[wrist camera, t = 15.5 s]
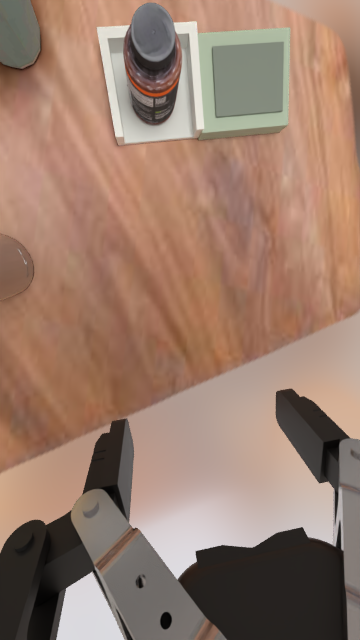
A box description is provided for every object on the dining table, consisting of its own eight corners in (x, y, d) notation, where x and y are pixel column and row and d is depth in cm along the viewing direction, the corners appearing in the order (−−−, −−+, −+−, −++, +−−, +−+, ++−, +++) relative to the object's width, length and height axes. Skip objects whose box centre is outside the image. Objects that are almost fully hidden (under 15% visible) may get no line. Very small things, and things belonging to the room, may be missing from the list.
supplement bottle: (151, 58, 31) (152, -37, 20) (184, 101, 33) (201, 35, 22) (119, 97, 32) (105, 26, 21) (153, 137, 34) (155, 90, 23)
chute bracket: (118, 145, 34) (115, 137, 31) (101, 46, 30) (96, 27, 28) (199, 137, 35) (204, 129, 32) (192, 40, 31) (196, 21, 29)
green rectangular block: (198, 140, 35) (202, 131, 32) (191, 48, 32) (195, 30, 29) (278, 132, 36) (289, 123, 33) (279, 42, 32) (291, 24, 30)
